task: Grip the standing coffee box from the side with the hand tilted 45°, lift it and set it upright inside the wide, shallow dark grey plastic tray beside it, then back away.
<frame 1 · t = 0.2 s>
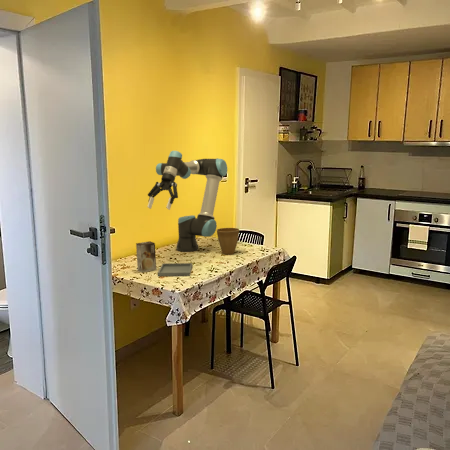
hand: (158, 208, 257), 36 cm above the table, tool tilted 35°, fingers open, 13 cm apart
tray: (175, 271, 258), on the table
plant pot: (228, 253, 299), on the table
coffee box: (146, 270, 261), on the table
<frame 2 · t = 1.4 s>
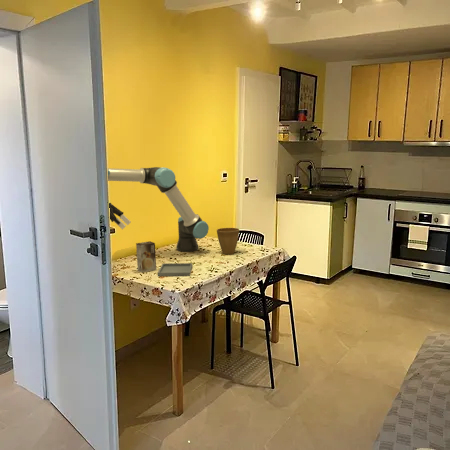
hand: (127, 225, 256), 26 cm above the table, tool tilted 45°, fingers open, 13 cm apart
nothing on the table moved.
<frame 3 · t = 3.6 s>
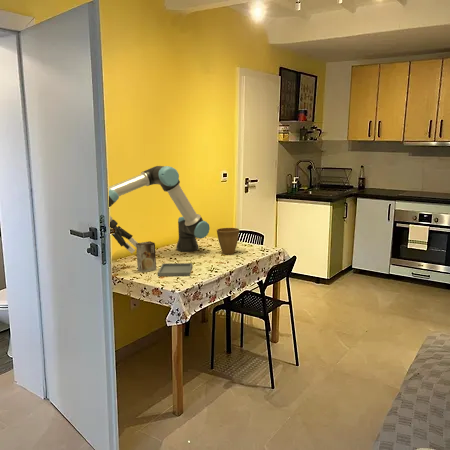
hand: (136, 249, 258), 13 cm above the table, tool tilted 45°, fingers open, 13 cm apart
nothing on the table moved.
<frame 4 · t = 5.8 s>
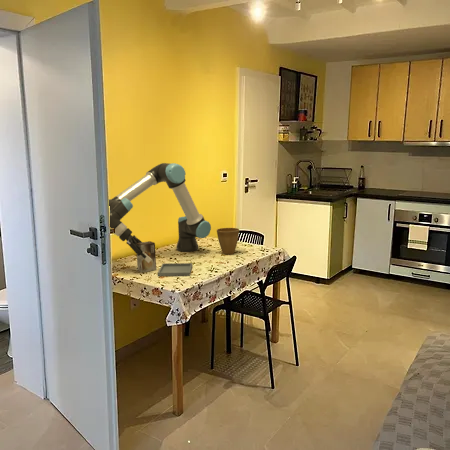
hand: (151, 258, 260), 7 cm above the table, tool tilted 45°, fingers closed on coffee box, 10 cm apart
coffee box: (146, 270, 261), on the table, touching gripper
everything else where it was.
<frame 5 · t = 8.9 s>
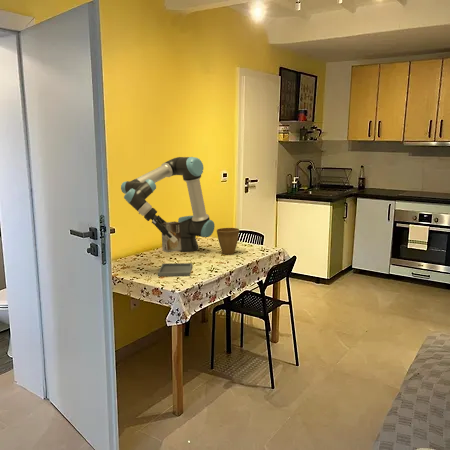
hand: (176, 239, 254), 19 cm above the table, tool tilted 45°, fingers closed on coffee box, 10 cm apart
coffee box: (171, 251, 256), point 12 cm above the table, touching gripper
everything else where it was.
when the fingers open (9 cm above the table, at t = 12.0 s): coffee box drops 2 cm, resting on tray.
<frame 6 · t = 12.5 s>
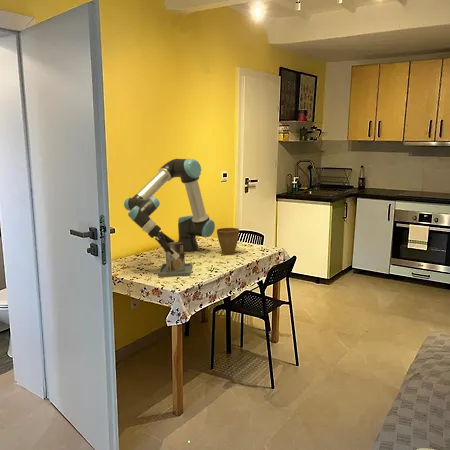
hand: (179, 254, 256), 10 cm above the table, tool tilted 45°, fingers open, 13 cm apart
coffee box: (175, 270, 257), resting on tray
everything else where it was.
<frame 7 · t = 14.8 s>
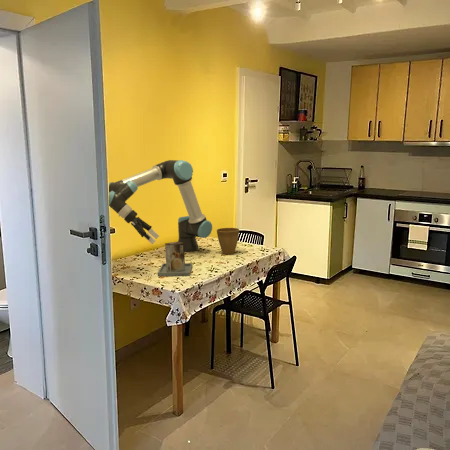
hand: (156, 240, 255), 18 cm above the table, tool tilted 45°, fingers open, 13 cm apart
nothing on the table moved.
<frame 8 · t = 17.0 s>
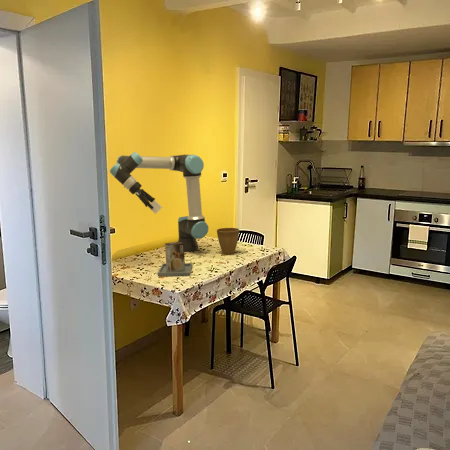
hand: (159, 210, 268), 33 cm above the table, tool tilted 45°, fingers open, 13 cm apart
nothing on the table moved.
at the end: coffee box inside the target area on the tray (0.4 cm from its centre), point 0.3 cm above the tray's base; coffee box tilted 0°; the gripper is holding nothing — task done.
